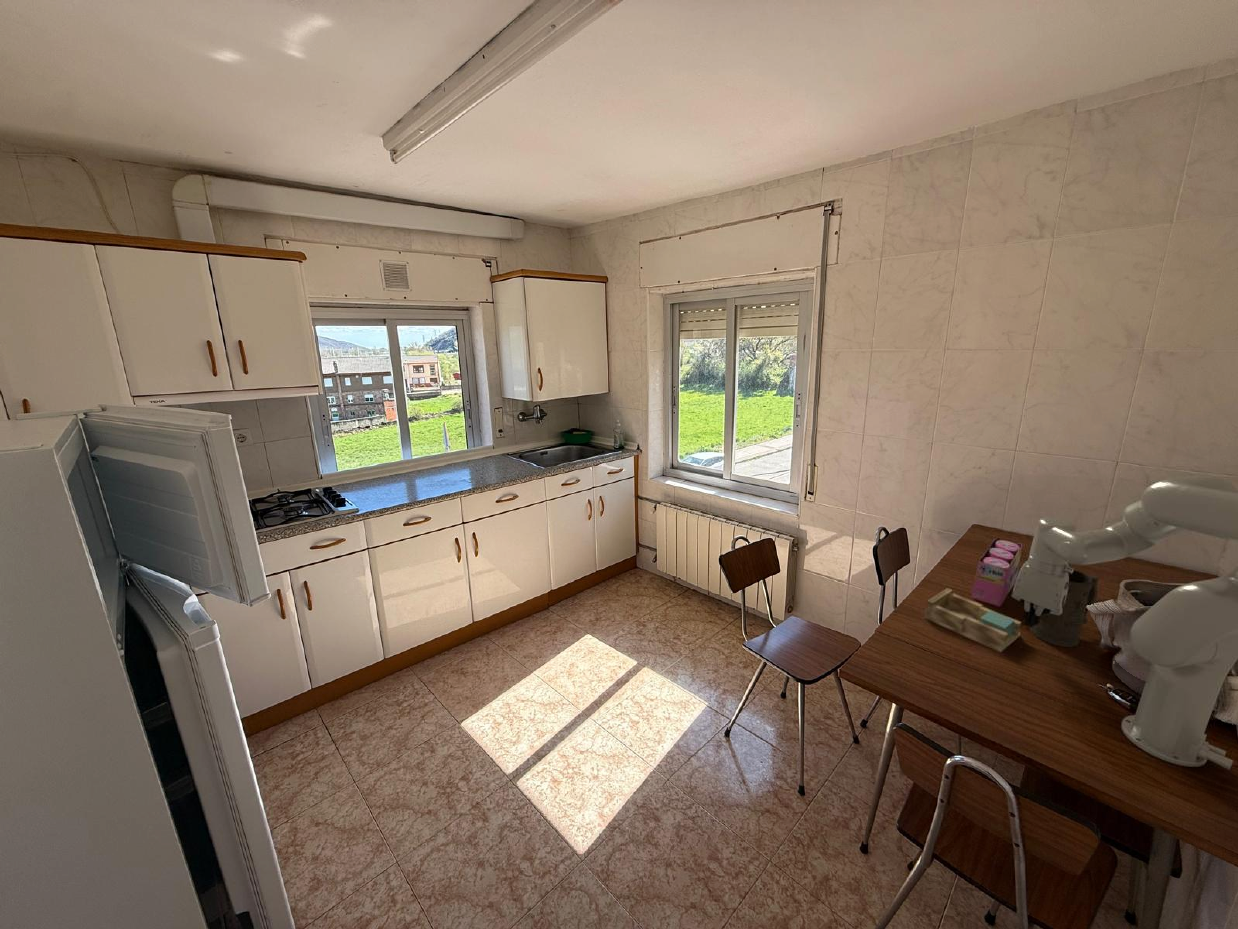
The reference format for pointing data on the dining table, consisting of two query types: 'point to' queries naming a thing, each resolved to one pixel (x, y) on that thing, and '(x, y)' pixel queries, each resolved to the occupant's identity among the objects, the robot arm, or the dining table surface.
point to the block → (998, 622)
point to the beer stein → (1069, 612)
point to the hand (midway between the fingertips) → (1030, 624)
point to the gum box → (997, 572)
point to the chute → (968, 620)
